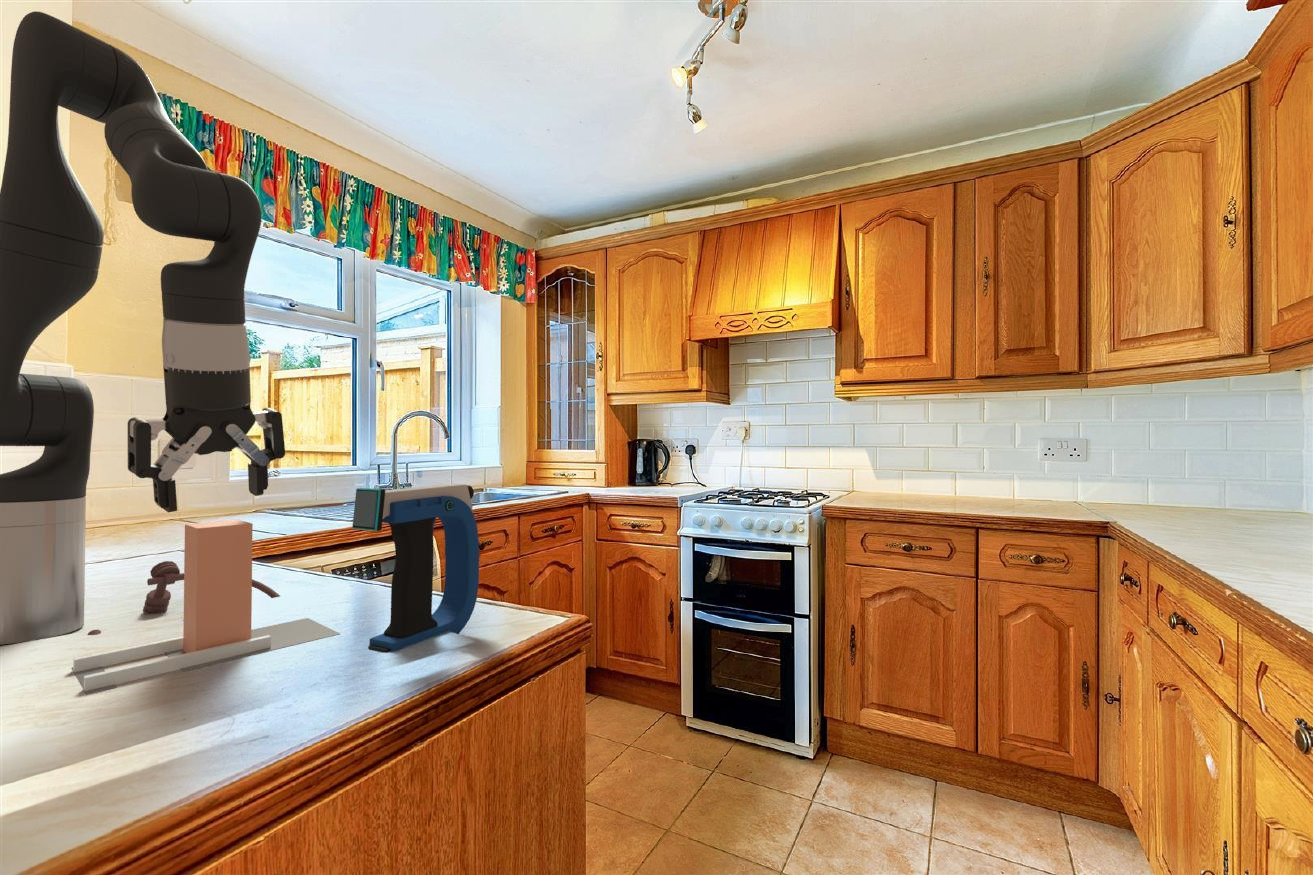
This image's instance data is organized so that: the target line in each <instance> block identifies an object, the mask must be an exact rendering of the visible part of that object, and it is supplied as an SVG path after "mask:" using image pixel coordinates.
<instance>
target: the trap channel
mask: <svg viewBox="0 0 1313 875" xmlns="http://www.w3.org/2000/svg"><path fill="white" fill-rule="evenodd" d="M338 635H341V632H338V631H336V630H334V629H331V628H329V627H327V625H323V624H322V623H320V622H317V621H315V620H313V619H311V618H309V617H306V618H305V617H304V618H302V619H301V618H300V619H296V620H290V621H287V622H282V623H277V624H272V625H267V626H263V627H258V628H252V629H251V639H249V640H244V641H240V642H235V643H231V644H226V645H222V646H217V647H213V648H208V649H204V650H199V651H195V652H190V653H186V652H185V651H183V635H182V636H177V637H173V638H168V639H163V640H158V641H152V642H147V643H143V644H139V645H133V646H128V647H121V648H118V649H113V650H112V649H111V650H107V651H102V652H98V653H93V654H88V655H84V656H83V655H82V656H79V657H73V659H72V660H73V666H72V667H71V669H72V671H73V673H74V674H75V677H76V678H77V680H78V682H79V683H80V685H81V687H82V689H83V691H84V693H85V694H86V696H88V695H93V694H97V693H101V692H105V691H110V690H115V689H117V686H116V685H120V684H123V683H127V682H128V683H129V682H131V681H136V680H140V679H145V678H149V677H153V676H157V675H161V674H165V673H171V672H175V671H179V670H181V671H182V672H188V671H193V670H196V669H200V668H201V669H202V668H205V667H210V666H213V665H217V664H221V663H222V664H223V663H226V662H231V661H234V660H238V659H242V658H247V657H250V656H255V655H258V654H259V655H261V654H264V653H268V652H270V651H271V652H272V651H275V650H276V651H277V650H279V649H284V648H288V647H293V646H297V645H300V644H306V643H309V642H313V641H317V640H322V639H326V638H330V637H333V636H338ZM163 654H164V655H166V656H167V657H164V658H160V659H154V660H150V661H145V662H141V663H137V664H132V665H126V666H123V667H119V668H114V669H113V668H112V669H109V670H105V669H104V667H107V666H113V665H115V664H121V663H126V662H130V661H135V660H139V659H140V660H141V659H144V658H148V657H149V658H150V657H154V656H158V655H163Z"/></svg>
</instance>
